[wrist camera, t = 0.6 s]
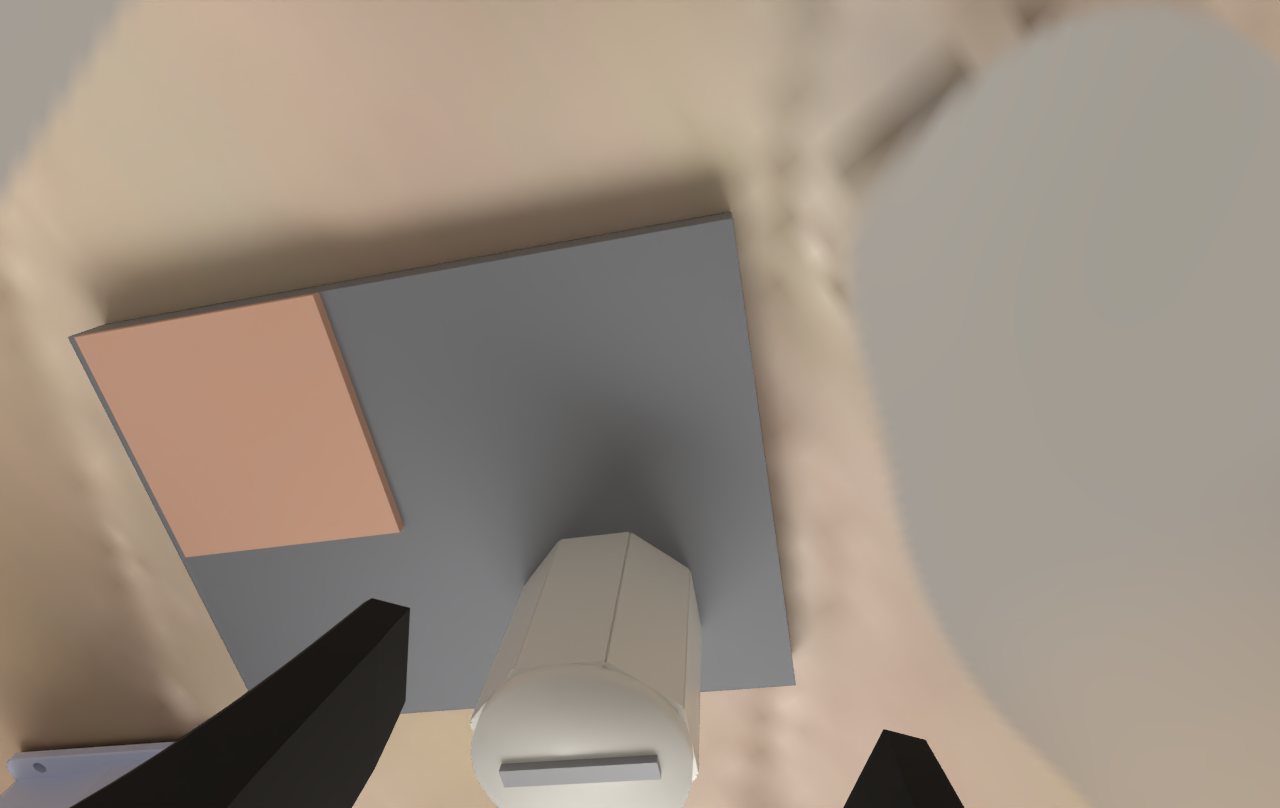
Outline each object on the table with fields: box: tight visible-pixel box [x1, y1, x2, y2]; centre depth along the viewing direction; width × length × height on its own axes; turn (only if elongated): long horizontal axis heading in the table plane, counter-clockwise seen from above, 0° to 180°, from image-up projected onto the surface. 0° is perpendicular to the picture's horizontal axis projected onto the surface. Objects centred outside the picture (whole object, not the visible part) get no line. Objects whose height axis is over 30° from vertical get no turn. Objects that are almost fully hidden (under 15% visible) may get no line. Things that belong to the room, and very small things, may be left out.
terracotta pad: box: [74, 292, 404, 557], centre depth 19 cm, size 7×7×1 cm
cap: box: [470, 532, 701, 808], centre depth 18 cm, size 5×5×6 cm
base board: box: [68, 212, 796, 714], centre depth 20 cm, size 18×14×1 cm
